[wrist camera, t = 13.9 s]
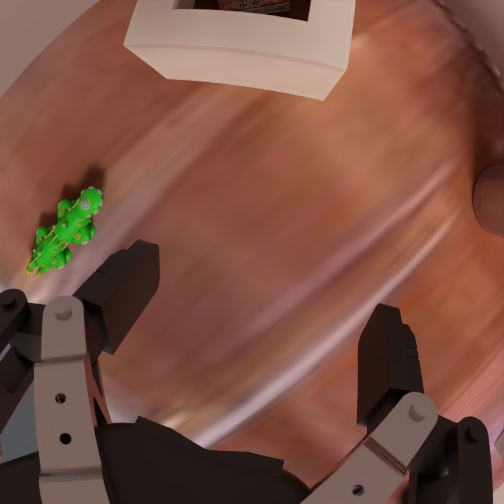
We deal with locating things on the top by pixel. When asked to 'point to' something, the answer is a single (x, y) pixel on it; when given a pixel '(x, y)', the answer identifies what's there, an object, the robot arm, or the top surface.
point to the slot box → (245, 45)
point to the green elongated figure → (65, 231)
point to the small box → (500, 445)
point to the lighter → (254, 6)
